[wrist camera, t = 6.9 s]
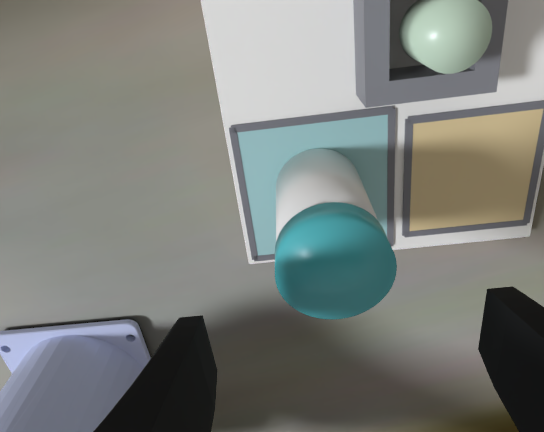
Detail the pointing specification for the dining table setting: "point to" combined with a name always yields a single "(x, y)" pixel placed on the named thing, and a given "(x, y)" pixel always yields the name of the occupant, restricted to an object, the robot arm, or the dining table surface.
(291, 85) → the picture board
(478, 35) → the button
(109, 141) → the dining table surface
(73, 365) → the robot arm
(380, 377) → the dining table surface
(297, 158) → the jar with teal lid
